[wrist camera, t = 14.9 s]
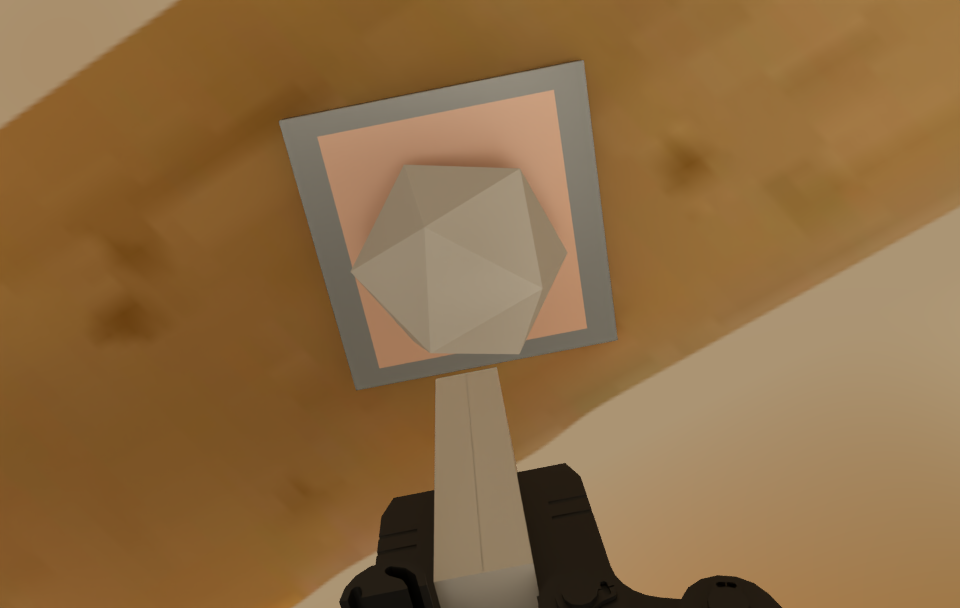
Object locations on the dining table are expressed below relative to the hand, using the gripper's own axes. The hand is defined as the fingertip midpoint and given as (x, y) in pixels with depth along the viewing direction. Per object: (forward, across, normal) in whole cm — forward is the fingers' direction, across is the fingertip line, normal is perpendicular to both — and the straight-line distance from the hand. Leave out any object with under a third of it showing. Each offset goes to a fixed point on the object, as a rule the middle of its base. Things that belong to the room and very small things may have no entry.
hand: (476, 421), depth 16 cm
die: (+17, 0, 0) cm, 17 cm away
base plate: (+18, 0, 0) cm, 18 cm away
